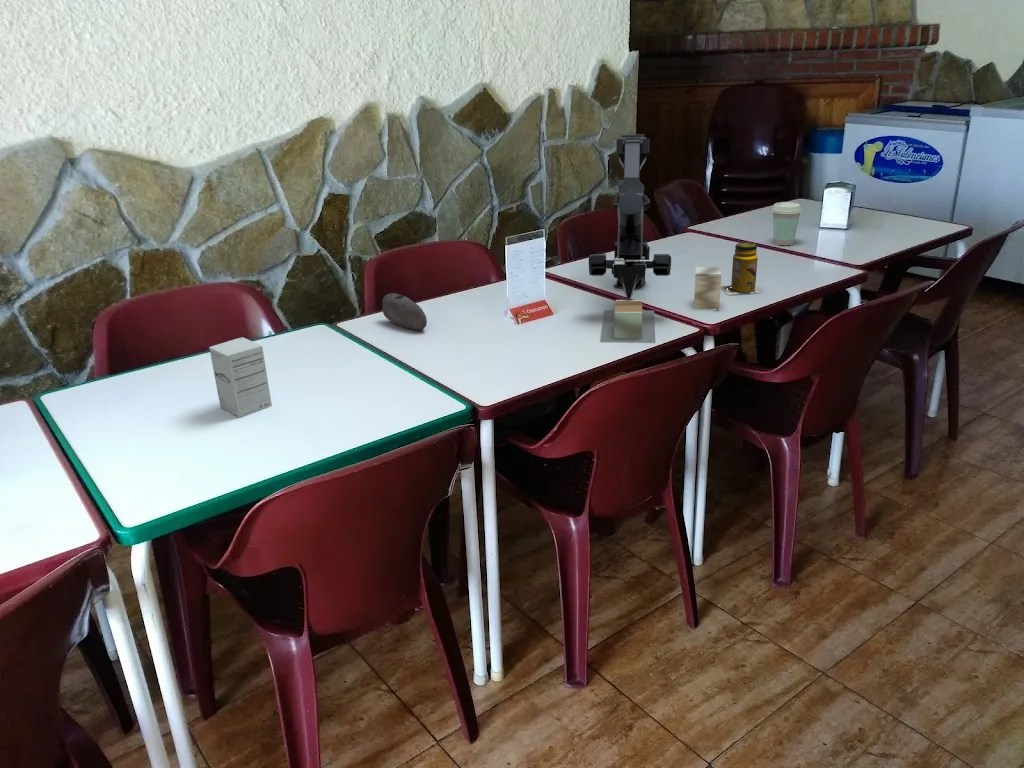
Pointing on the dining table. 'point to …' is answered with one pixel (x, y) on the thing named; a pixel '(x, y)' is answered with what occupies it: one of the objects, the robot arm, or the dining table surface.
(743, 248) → the condiment
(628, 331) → the small carton
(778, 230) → the coffee cup
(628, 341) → the mat
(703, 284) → the beech block
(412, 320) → the perforated stone tool
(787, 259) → the dining table surface
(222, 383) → the supplement box
